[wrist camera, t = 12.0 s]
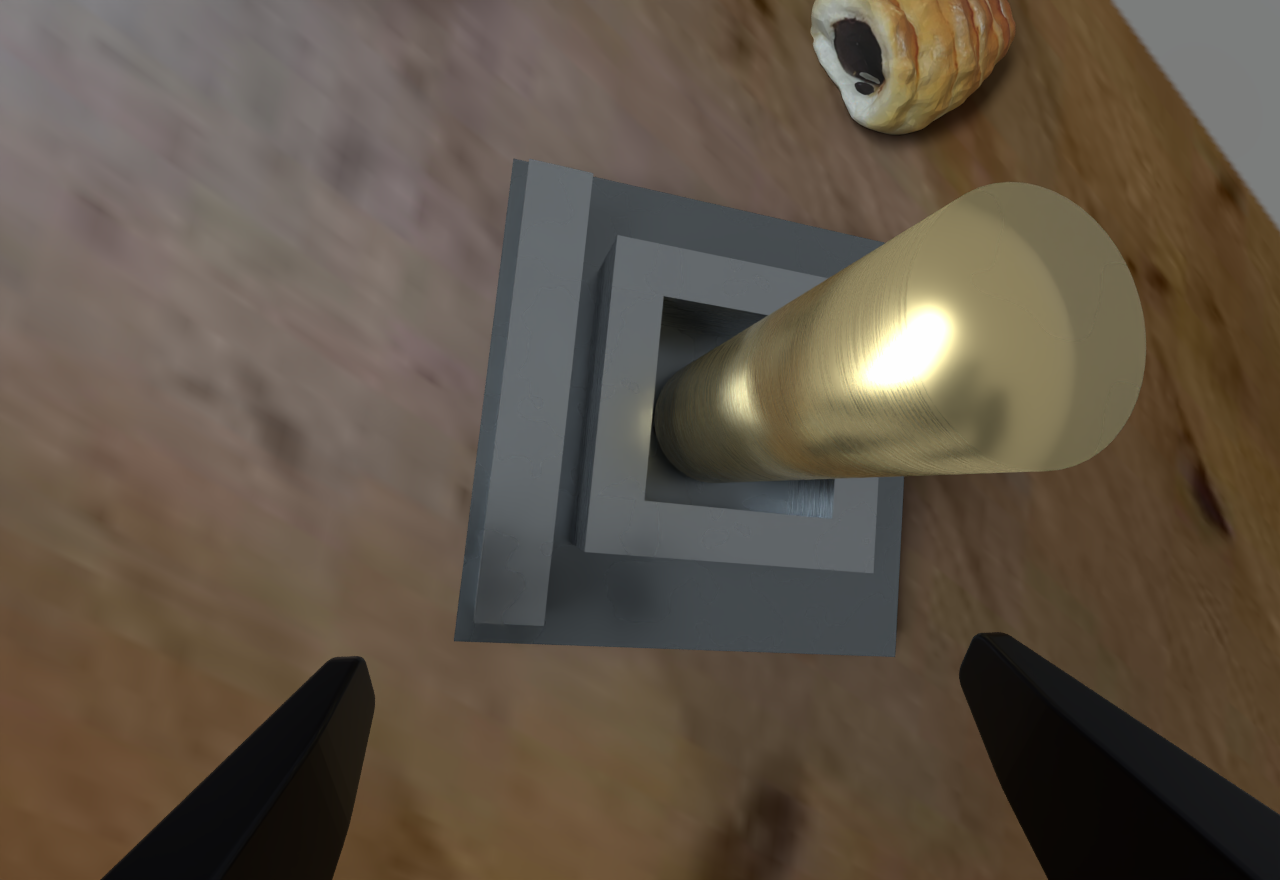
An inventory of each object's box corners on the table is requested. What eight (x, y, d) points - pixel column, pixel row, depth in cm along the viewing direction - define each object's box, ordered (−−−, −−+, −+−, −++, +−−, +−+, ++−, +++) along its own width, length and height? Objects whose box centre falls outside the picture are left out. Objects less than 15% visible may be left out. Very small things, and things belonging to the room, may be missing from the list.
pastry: (945, -38, 28) (1015, -116, 24) (1008, 94, 29) (1086, 37, 25) (788, 20, 26) (840, -57, 22) (859, 164, 26) (921, 112, 22)
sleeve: (787, 454, 22) (1183, 405, 10) (683, 503, 21) (981, 519, 8) (741, 343, 22) (1080, 150, 10) (635, 386, 21) (862, 229, 8)
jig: (870, 646, 24) (955, 681, 20) (455, 630, 20) (448, 669, 16) (890, 263, 26) (973, 217, 21) (511, 180, 22) (518, 104, 18)
